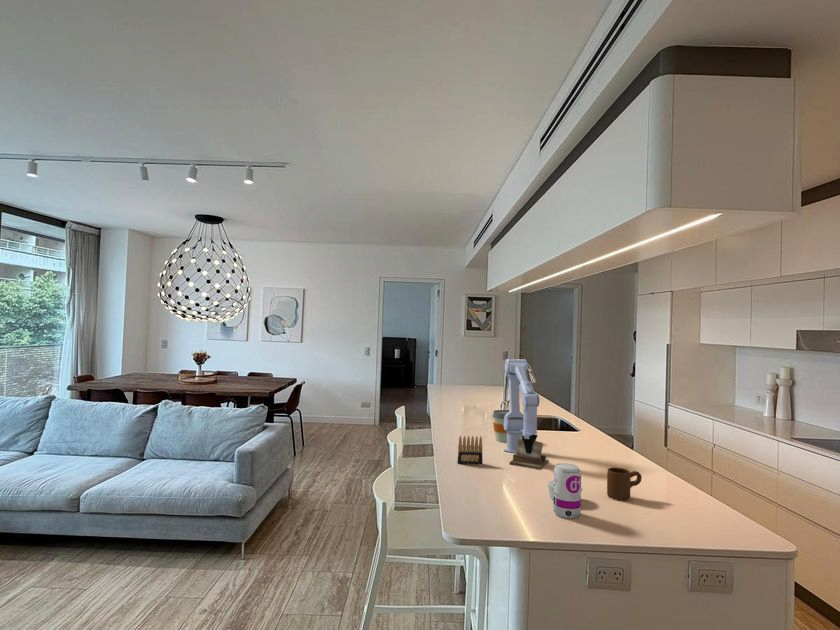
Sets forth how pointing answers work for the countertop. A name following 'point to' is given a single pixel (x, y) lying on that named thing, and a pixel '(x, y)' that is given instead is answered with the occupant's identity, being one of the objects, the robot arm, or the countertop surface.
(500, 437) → the reusable coffee cup
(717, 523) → the countertop surface
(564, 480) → the supplement can
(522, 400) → the robot arm
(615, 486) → the mug
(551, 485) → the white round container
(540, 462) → the notched stand
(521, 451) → the beige wooden block
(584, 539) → the countertop surface
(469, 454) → the ammunition clip
